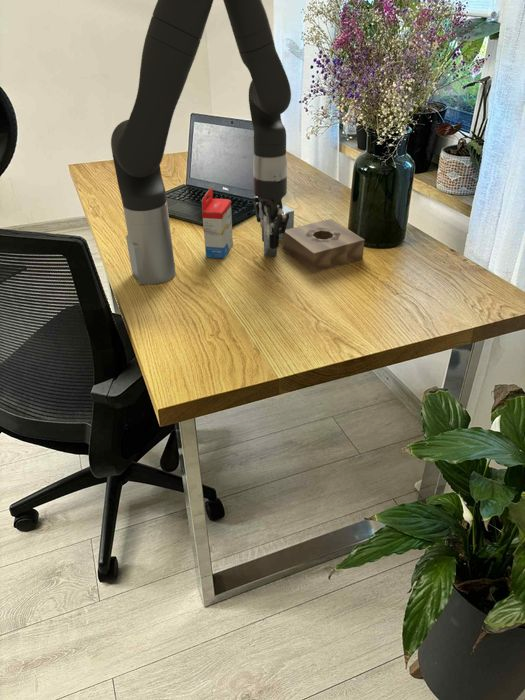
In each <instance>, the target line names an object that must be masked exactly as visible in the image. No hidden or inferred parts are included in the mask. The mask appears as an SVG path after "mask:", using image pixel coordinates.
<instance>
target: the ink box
mask: <svg viewBox="0 0 525 700" xmlns="http://www.w3.org/2000/svg"><path fill="white" fill-rule="evenodd" d="M213 193H214V191H213V187H212V186H210V188H209V189H208V190H207V192H206V193H205V194H204V195H203V197H202V199H201V216H202V225H203V236H204V237H203V238H204V247H205V257H206V258H213V259H226V257H227V255H228V253H229V252H230V250H231V248H232V247H233V245H234V243H233V242H234V241H233V240H234V239H233V221H232V220H233V219H232V218H233V217H232V202H231V199H227V198H214V197H213V196H214V195H213Z"/></svg>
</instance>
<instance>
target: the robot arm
mask: <svg viewBox="0 0 525 700" xmlns="http://www.w3.org/2000/svg"><path fill="white" fill-rule="evenodd" d="M222 1H223V4H224V7H225V9H226V13H227V16H228V21H229V22H230V26H231V29H232V33H233V37H234V39H235V43H236V47H237V49H238V54H239V56H240V58H241V61H242V63H243V64H244V65H245V67H246V68H247V70H248V72H249V74H250V77H251V81H250V84H249V87H248V104H249V106H248V107H249V113H250V118H251V124H252V128H253V162H252V171H253V172H252V175H253V176H252V177H253V194H254V196H253V197H252V202H253V207H254V208H253V209H254V212H255V217H256V222H257V223H260V227H261V241H262V242H263V243H264V215H265V216H266V220H267V224H268V225H269V231H270V234H269V238H270V248H271V249H274V248H277V249H278V248H279V247H280V240H279V234H283V233H285V230H286V226H287V223H288V219H289V214H288V213H284V212H283V210H282V209H283V198H284V197H285V196H287V193H288V190H287V189H288V160H287V159H288V158H287V131H286V128H285V125H284V124H283V122H282V118H281V117H282V116H281V115H282V114H283V113H285V111H287V109H288V108H289V106H290V104H291V99H292V90H291V85H290V82H289V78H288V75H287V73H286V71H285V68H284V66H283V63H282V61H281V59H280V56H279V55H278V52H277V49H276V45H275V40H274V36H273V32H272V28H271V24H270V22H269V18H268V14H267V12H266V11H267V10H266V8H265V6H264V3H263V1H262V0H222ZM213 3H214V0H157V1H156V4H155V7H154V9H153V11H152V16H151V19H150V22H149V25H148V29H147V31H146V35H145V38H144V42H143V48H142V53H141V62H140V68H139V80H138V87H137V94H136V99H135V101H134V104H133V107H132V110H131V113H130V115H129V118H128V119H125V120H123V121H122V122H120V123H118V124H117V125H116V126H115V128H114V130H113V131H112V134H111V136H110V137H111V138H110V146H111V148H110V149H111V153H112V158H113V159H112V160H113V165H114V171H115V175H116V180H117V186H118V190H119V195H120V199H121V204H122V208H123V214H124V221H125V225H126V231H127V235H126V236H125V238H126V239H125V240H126V244H127V251H128V257H129V261H130V268H131V272H132V273H131V274H132V275H133V276H134V278H135V279H136V281H137V283H138V284H139V285H146V284H147V285H158V284H164V283H166V282H168V281H170V280H173V278H174V277H175V276H176V263H175V257H174V256H175V255H174V251H173V249H174V248H173V242H172V239H173V238H172V233H171V225H170V217H169V216H170V215H169V210H168V207H169V206H168V199H167V193H166V192H167V191H166V186H165V184H164V181H163V177H162V171H161V163H162V161H163V158H164V154H165V149H166V145H167V141H168V136H169V131H170V128H171V124H172V120H173V116H174V113H175V110H176V108H177V105H178V102H179V100H180V98H181V96H182V93H183V91H184V89H185V88H184V87H185V85H186V82H187V79H188V77H189V74H190V71H191V68H192V66H193V63H194V61H195V58H196V55H197V53H198V50H199V47H200V44H201V41H202V38H203V34H204V31H205V28H206V24H207V22H208V19H209V16H210V13H211V10H212V6H213ZM271 219H276V220H273V221H271ZM274 224H275V226H274V229H273V225H274Z"/></svg>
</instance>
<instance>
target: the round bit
mask: <svg viewBox="0 0 525 700" xmlns="http://www.w3.org/2000/svg"><path fill="white" fill-rule="evenodd" d="M273 220H276V219H271V221H273ZM274 226H275V224H274V225H273V229H274ZM269 234H270V231H269V225H268V224H267V220H266V216H265V215H264V242H263V255H264V256H265V257H266V258H275V257H277V256H278V248H274V249H271V248H270V238H269Z"/></svg>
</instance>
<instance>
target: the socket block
mask: <svg viewBox="0 0 525 700" xmlns="http://www.w3.org/2000/svg"><path fill="white" fill-rule="evenodd" d="M282 250H283V251H285V253H287V254H288V255H290V256H291V257H292V258H294V259H295V260H296V261H297V262H298V263H300V264H301V265H302V266H303V267H305V268H306V269H307V270H309V271H310V272H311V273H312V274H314V273H318V272H322V271H324V270H328V269H332V268H335V267H339V266H342V265H346V264H350V263H352V262H353V263H355V262H357V261H361V260H363V259H364V252H365V251H364V250H365V239H364V238H363V237H361V236H359V235H358V234H356V233H354V232H353V231H352V230H350V229H348V228H347V227H345V226H344V225H343V224H341V223H339V222H338V221H336V220H334V219H333V218H329V219H324V220H320V221H316V222H312V223H307V224H303V225H299V226H296V227H295V226H294V228H290V229H286V230H285V233H283V239H282Z"/></svg>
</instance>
